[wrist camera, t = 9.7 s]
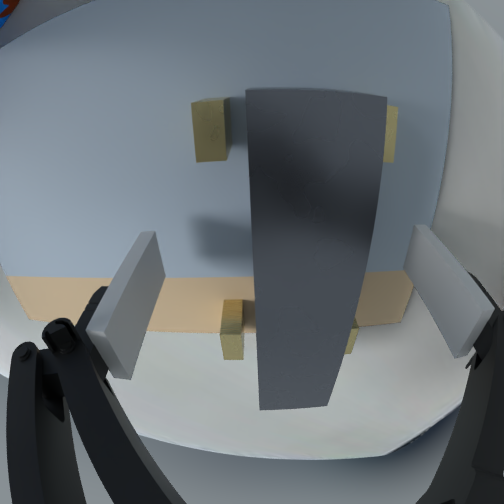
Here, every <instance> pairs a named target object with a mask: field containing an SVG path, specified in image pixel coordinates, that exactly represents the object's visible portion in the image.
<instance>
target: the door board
mask: <svg viewBox="0 0 504 504" xmlns="http://www.w3.org/2000/svg"><path fill="white" fill-rule="evenodd" d="M264 87H296V88H321V89H336V90H345V91H352V92H360V93H366V94H373V95H379V96H384V97H387V104H388V105H392V106H396V107H398V118H397V132H396V143H395V153H394V162H393V163H388V162H383V166H382V175H381V183H380V191H379V198H378V205H377V212H376V218H375V224H374V230H373V236H372V241H371V247H370V252H369V257H368V262H367V267H366V271H365V276H364V281H363V285H362V289H361V294H360V298H359V302H358V306H357V310H356V314H355V318H356V321H357V324H358V327H362V326H372V325H382V324H391V323H399V322H401V319H402V317H403V314H404V312H405V309H406V306H407V304H408V301H409V298H410V295H411V293H412V290H413V287H414V285H413V283H412V282H411V280H410V278H409V277H408V275H407V274H406V272H405V271H404V269H403V265H404V262H405V258H406V255H407V251H408V247H409V243H410V239H411V235H412V231H413V226H414V225H426V226H427V227H428V228H429V229H430V230H431V226H432V222H433V218H434V214H435V210H436V205H437V201H438V196H439V191H440V186H441V180H442V175H443V169H444V163H445V156H446V149H447V141H448V133H449V123H450V111H451V95H452V38H451V23H450V12H449V5H446V4H444V3H441V2H439V1H436V0H94V1H92V2H89V3H86V4H84V5H81V6H79V7H77V8H74V9H72V10H70V11H67V12H65V13H63V14H61V15H59V16H57V17H54V18H52V19H50V20H48V21H46V22H44V23H42V24H41V25H39V26H37V27H35V28H33V29H31V30H30V31H28V32H26V33H24V34H23V35H21V36H19V37H17V38H16V39H14V40H13V41H11V42H9V43H8V44H6V45H5V46H3V47H2V48H0V264H1V266H2V269H3V271H4V273H5V275H6V277H7V279H8V281H9V283H10V285H11V287H12V289H13V291H14V293H15V295H16V297H17V298H18V300H19V302H20V304H21V306H22V308H23V309H24V311H25V313H26V314H27V316H28V318H29V319H31V320H38V321H45V322H51V321H53V320H55V319H58V318H68V319H70V320H71V322H72V323H73V325H76V324H77V322H78V320H79V318H80V316H81V314H82V313H83V311H85V307H86V305H87V304H88V302H89V300H90V298H91V297H92V295H93V293H95V292H96V291H97V290H98V289H99V288H100V287H101V286H109V285H110V283H111V281H112V279H113V278H114V276H115V274H116V272H117V271H118V269H119V267H120V266H121V264H122V262H123V260H124V259H125V257H126V255H127V254H128V252H129V251H130V249H131V247H132V246H133V244H134V242H135V241H136V239H137V238H138V236H139V234H140V233H141V232H144V231H155V232H156V236H157V241H158V245H159V250H160V254H161V258H162V262H163V267H164V271H165V275H166V277H165V280H164V282H163V285H162V288H161V291H160V293H159V296H158V299H157V302H156V304H155V307H154V310H153V313H152V316H151V319H150V322H149V325H148V328H147V331H158V332H185V333H220V328H221V319H222V311H223V302H224V300H229V299H243V310H244V323H245V329H244V333H256V317H255V295H254V273H253V251H252V229H251V207H250V185H249V163H248V141H247V120H246V98H245V90H246V89H248V88H264ZM218 97H230V114H231V132H232V147H231V150H230V153H229V156H228V159H227V161H214V162H199V163H196V156H195V145H194V135H193V123H192V112H191V103H192V102H195V101H198V100H201V99H206V98H218Z"/></svg>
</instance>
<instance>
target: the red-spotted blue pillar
mask: <svg viewBox="0 0 504 504" xmlns="http://www.w3.org/2000/svg"><path fill="white" fill-rule="evenodd" d="M19 1H20V0H0V28H1V27H2V26H3V25H4V23H5V22H6V20H7V19H8V17H9V16H10V14H11V13H12V11H13V10H14V9H15V7H16V6H17V5H18V3H19Z"/></svg>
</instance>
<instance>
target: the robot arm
mask: <svg viewBox="0 0 504 504" xmlns="http://www.w3.org/2000/svg"><path fill="white" fill-rule="evenodd" d="M403 269H404V271H405V272H406V274H407V275H408V277H409V278H410V280H411V282H412V283H413V285H414V286H415V288H416V290H417V291H418V293H419V295H420V296H421V298H422V300H423V301H424V303H425V305H426V306H427V308H428V310H429V312H430V313H431V315H432V317H433V319H434V320H435V322H436V324H437V326H438V328H439V330H440V331H441V333H442V335H443V337H444V339H445V341H446V343H447V345H448V347H449V348H450V350H451V352H452V354H453V356H454V358H459V357H463V356H466V355H467V354H468V353H469V351H470V350H471V348H472V347H473V346H474V348H475V350H476V352H475V354H474V355H473V357H472V358H471V359H470V361H469V362H468V364H467V365H466V367H465V368H466V369H467V368H468V367H469V366H470V365H471V368H470V373H469V377H468V381H467V385H466V389H465V393H464V397H463V400H462V404H461V408H460V411H459V414H458V417H457V420H456V423H455V426H454V429H453V432H452V435H451V438H450V440H449V443H448V446H447V448H446V451H445V453H444V456H443V458H442V461H441V463H440V465H439V468H438V470H437V472H436V474H435V477H434V479H433V481H432V483H431V485H430V487H429V488H428V490H427V492H426V493H425V494H424V495H423V496H422V497H421V498H420V499H419V500H418V501H417V503H416V504H504V477H503V471H504V311H501V310H500V308H499V307H498V306H497V304H496V303H495V301H494V300H493V299H492V297H491V296H490V295H489V293H488V292H486V290H485V288H484V287H483V286H482V284H481V283H480V282H479V281H478V279H477V278H476V277H475V276H473V275H472V274H471V273H469V272H467V271H466V270H465V269H464V267H463V266H462V265H461V264H460V263H459V261H458V260H457V259H456V258H455V257H454V256H453V254H452V253H451V252H450V251H449V250H448V249H447V248H446V246H445V245H444V244H443V243H442V242H441V241H440V240H439V239H438V238H437V236H436V235H435V234H434V233H433V232H432V231H431V230H430V229H429V228H428V227H427V226H426V225H414V226H413V231H412V235H411V239H410V243H409V247H408V251H407V255H406V258H405V262H404V265H403ZM165 277H166V275H165V271H164V267H163V262H162V258H161V254H160V250H159V245H158V241H157V236H156V232H155V231H144V232H141V233H140V234H139V236H138V238H137V239H136V241H135V242H134V244H133V246H132V247H131V249H130V251H129V252H128V254H127V255H126V257H125V259H124V260H123V262H122V264H121V266H120V267H119V269H118V271H117V272H116V274H115V276H114V278H113V279H112V281H111V283H110V285H109V286H101V287H100V288H99V289H98V290H97V291H96V292H95V293H93V295H92V297H91V298H90V300H89V302H88V304H87V305H86V307H85V311H83V313H82V314H81V316H80V318H79V320H78V322H77V324H76V325H75V327H74V325H73V323H72V322H71V320H70V319H68V318H58V319H55V320H53V321H51V322H50V323H49V324H48V325H47V326H46V327H45V328H44V330H43V332H42V339H43V340H44V342H45V343H46V345H47V346H48V348H49V349H43V350H39V349H38V348H37V347H36V345H35V344H34V343H32V342H24V343H22V344H20V345H19V346H18V347H17V348H16V349H15V351H14V352H13V355H12V359H11V366H10V375H9V385H8V398H7V422H6V424H7V425H6V438H7V460H8V461H7V462H8V473H9V483H10V491H11V498H12V504H86V500H85V497H84V492H83V488H82V485H81V480H80V476H79V471H78V466H77V461H76V455H75V450H74V444H73V438H72V430H71V422H70V413H69V409H70V412H71V415H72V417H73V420H74V423H75V425H76V428H77V430H78V433H79V435H80V437H81V440H82V442H83V444H84V447H85V449H86V451H87V453H88V455H89V458H90V460H91V462H92V464H93V466H94V468H95V470H96V472H97V474H98V476H99V478H100V480H101V481H102V483H103V485H104V487H105V489H106V490H107V492H108V494H109V496H110V498H111V499H112V501H113V503H114V504H186V502H185V501H184V500H183V499H182V498H181V496H180V495H179V494H178V492H177V491H176V490H175V489H174V487H173V486H172V485H171V483H170V482H169V481H168V479H167V478H166V477H165V475H164V474H163V472H162V471H161V470H160V468H159V467H158V465H157V464H156V462H155V461H154V459H153V458H152V457H151V455H150V453H149V452H148V450H147V449H146V447H145V446H144V444H143V443H142V441H141V439H140V438H139V436H138V434H137V433H136V431H135V429H134V428H133V426H132V424H131V423H130V421H129V419H128V417H127V416H126V414H125V412H124V410H123V408H122V407H121V405H120V403H119V401H118V399H117V397H116V395H115V393H114V391H113V390H112V388H111V386H110V384H109V381H108V380H107V378H106V375H107V372H108V369H109V371H110V372H111V374H112V375H113V377H114V378H120V379H128V380H131V378H132V374H133V371H134V368H135V365H136V361H137V358H138V355H139V352H140V349H141V346H142V343H143V340H144V337H145V334H146V331H147V328H148V325H149V322H150V319H151V316H152V313H153V310H154V307H155V304H156V302H157V299H158V296H159V293H160V291H161V288H162V285H163V282H164V280H165Z"/></svg>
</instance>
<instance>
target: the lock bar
mask: <svg viewBox="0 0 504 504" xmlns="http://www.w3.org/2000/svg"><path fill="white" fill-rule="evenodd" d="M245 98H246V120H247V141H248V163H249V185H250V207H251V229H252V251H253V273H254V295H255V317H256V339H257V361H258V383H259V406H260V410H279V409H297V408H310V407H321V406H327V404H328V402H329V399H330V396H331V393H332V390H333V387H334V384H335V381H336V378H337V375H338V372H339V369H340V366H341V363H342V360H343V356H344V353H345V350H346V346H347V343H348V339H349V336H350V332H351V329H352V325H353V321H354V318H355V314H356V310H357V306H358V302H359V298H360V294H361V289H362V285H363V281H364V276H365V271H366V267H367V262H368V257H369V252H370V247H371V241H372V236H373V230H374V224H375V218H376V212H377V205H378V198H379V191H380V183H381V175H382V166H383V157H384V146H385V133H386V118H387V97H384V96H379V95H373V94H366V93H360V92H352V91H345V90H336V89H321V88H296V87H264V88H248V89H246V90H245Z"/></svg>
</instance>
